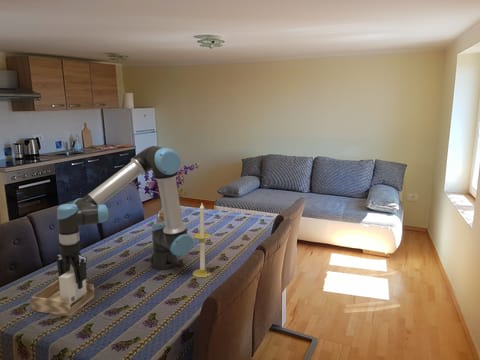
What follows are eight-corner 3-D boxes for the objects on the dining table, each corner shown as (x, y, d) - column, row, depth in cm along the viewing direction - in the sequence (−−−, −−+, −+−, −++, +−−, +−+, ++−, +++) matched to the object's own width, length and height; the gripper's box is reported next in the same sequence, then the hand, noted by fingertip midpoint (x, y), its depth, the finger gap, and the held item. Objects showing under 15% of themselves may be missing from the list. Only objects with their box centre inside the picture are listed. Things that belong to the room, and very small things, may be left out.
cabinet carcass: (94, 296, 162) (93, 284, 160) (70, 316, 146) (68, 302, 145) (59, 291, 166) (58, 279, 164) (32, 310, 150) (30, 297, 149)
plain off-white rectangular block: (87, 292, 159) (85, 266, 157) (70, 305, 148) (68, 278, 146) (78, 291, 160) (76, 265, 157) (61, 304, 149) (58, 276, 147)
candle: (189, 276, 183) (187, 203, 176) (198, 268, 192) (197, 198, 185) (207, 279, 179) (206, 205, 172) (215, 271, 189) (215, 200, 181)
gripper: (93, 240, 151) (97, 292, 155) (58, 237, 155) (62, 287, 159) (82, 247, 144) (86, 301, 148) (45, 243, 148) (50, 296, 152)
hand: (74, 294), depth 154 cm, fingers closed on plain off-white rectangular block, 4 cm apart
